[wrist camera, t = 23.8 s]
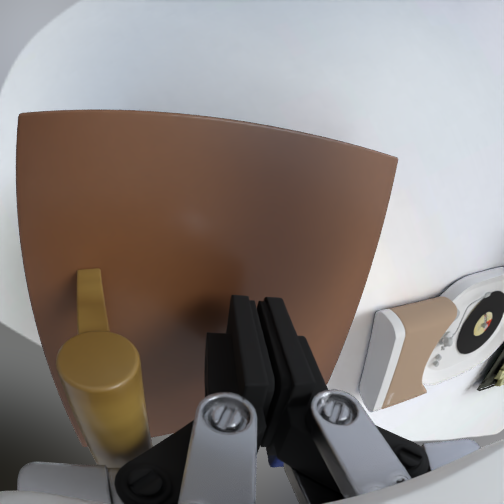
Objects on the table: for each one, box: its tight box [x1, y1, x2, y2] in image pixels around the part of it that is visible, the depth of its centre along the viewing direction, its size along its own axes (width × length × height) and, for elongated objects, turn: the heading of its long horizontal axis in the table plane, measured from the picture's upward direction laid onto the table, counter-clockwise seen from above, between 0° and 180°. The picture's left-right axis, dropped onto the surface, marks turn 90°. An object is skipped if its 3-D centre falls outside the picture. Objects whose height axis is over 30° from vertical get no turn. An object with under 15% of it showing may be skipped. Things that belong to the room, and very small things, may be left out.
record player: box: [359, 267, 504, 412], centre depth 22 cm, size 12×3×20 cm
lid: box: [16, 110, 398, 468], centre depth 9 cm, size 14×13×5 cm
